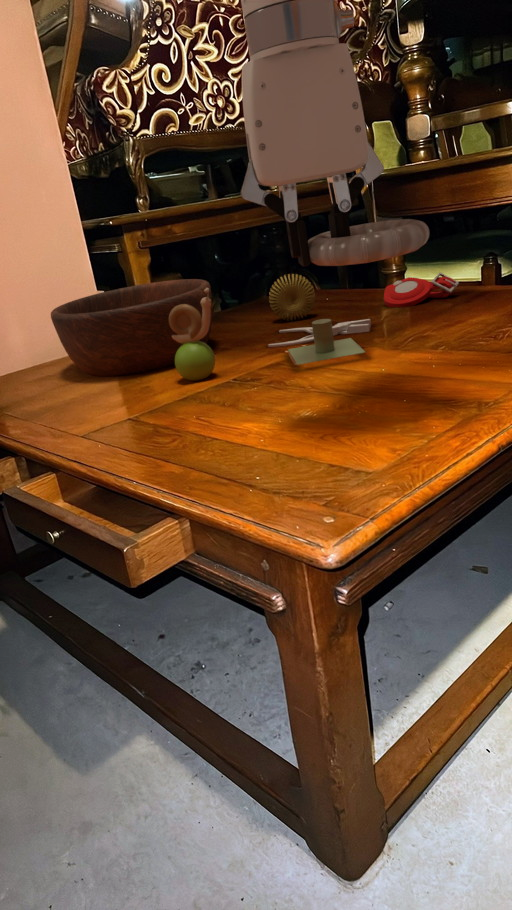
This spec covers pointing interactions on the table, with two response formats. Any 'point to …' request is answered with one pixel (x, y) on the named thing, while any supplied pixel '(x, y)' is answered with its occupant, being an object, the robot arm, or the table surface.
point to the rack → (324, 345)
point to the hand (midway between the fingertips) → (322, 259)
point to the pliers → (337, 329)
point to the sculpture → (292, 297)
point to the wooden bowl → (126, 326)
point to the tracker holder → (417, 290)
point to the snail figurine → (192, 340)
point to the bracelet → (369, 243)
